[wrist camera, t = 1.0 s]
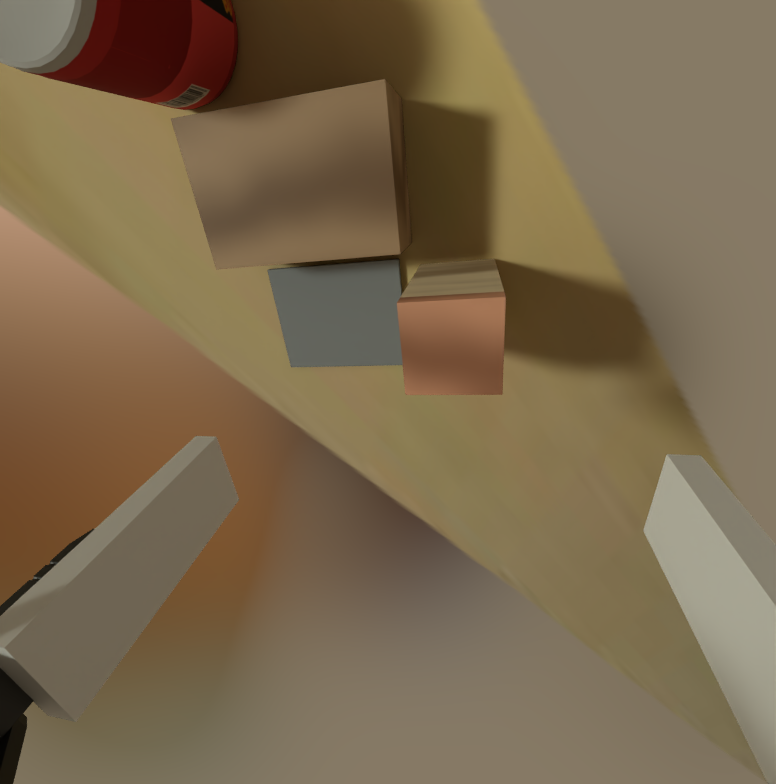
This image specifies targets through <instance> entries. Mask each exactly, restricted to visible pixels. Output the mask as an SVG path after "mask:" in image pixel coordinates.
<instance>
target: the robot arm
mask: <svg viewBox="0 0 776 784" xmlns="http://www.w3.org/2000/svg"><path fill="white" fill-rule="evenodd" d="M238 500H239V499H238V496H237V493H236V490H235V487H234V485H233V482H232V479H231V476H230V473H229V471H228V468H227V465H226V462H225V460H224V457H223V454H222V451H221V448H220V445H219V443H218V440H217V437H208V436H196V437H194V439H192V440H191V441H190V442H189V443H188V444H187V445H186V446H185V447H184V448H183V449H181V450H180V451H179V452H178V453H177V454H176V455H175V456H174V457H173V458H172V459H171V460H169V461H168V462H167V463H166V464H165V465H164V466H163V467H162V468H161V469H160V470H159V471H158V472H156V473H155V474H154V475H153V476H152V477H151V478H150V479H149V480H148V481H147V482H146V483H145V484H143V485H142V486H141V487H140V488H139V489H138V490H137V491H136V492H135V493H134V494H132V495H131V496H130V498H128V499H127V500H126V501H125V502H124V503H123V504H122V505H121V506H120V507H118V508H117V509H116V510H115V511H114V512H113V513H112V514H111V515H110V516H109V517H108V518H106V519H105V520H104V521H103V522H102V523H101V524H100V525H99V526H98V527H97V528H95V529H92V530H91V531H89V532H87V533H86V534H84V535H83V536H81V537H79V538H78V539H76V540H75V541H73V542H72V543H70V544H69V545H68V546H67V547H66V548H65V549H63V550H62V551H61V552H60V553H59V554H58V555H57V556H56V557H54V558H53V559H52V560H51V561H50V564H49V565H46V566H44V567H43V568H42V569H41V570H40V571H39V572H38V573H37V574H36V575H34V578H33V580H29V581H28V582H27V583H26V584H25V585H23V586H22V587H21V588H20V589H19V590H18V591H17V592H15V593H14V594H13V595H12V596H11V597H10V598H9V599H8V600H7V601H5V602H4V603H3V604H2V605H1V606H0V784H13V782H14V778H15V774H16V770H17V765H18V761H19V757H20V753H21V749H22V745H23V741H24V737H25V733H26V729H27V717H26V716H25V715H24V714H23V713H24V711H25V710H26V709H27V708H28V707H29V705H30V704H31V703H32V702H35V703H36V704H37V705H38V707H40V708H41V709H42V710H43V711H44V712H45V713H46V714H47V715H48V716H53V717H57V718H61V719H66V720H70V721H74V722H76V721H77V720H78V718H79V717H80V716H81V714H82V713H83V712H84V710H85V709H86V708H87V706H88V705H89V703H90V702H91V701H92V699H93V698H94V697H95V695H96V694H97V692H98V691H99V690H100V688H101V687H102V686H103V684H104V683H105V681H106V680H107V679H108V678H109V676H110V675H111V673H112V672H113V671H114V669H115V668H116V667H117V665H118V664H119V663H120V661H121V660H122V658H123V657H124V656H125V654H126V653H127V652H128V650H129V649H130V648H131V646H132V645H133V643H134V642H135V641H136V639H137V638H138V637H139V635H140V634H141V633H142V631H143V630H144V629H145V627H146V626H147V624H148V623H149V622H150V620H151V619H152V617H153V616H154V615H155V614H156V612H157V611H158V609H159V608H160V607H161V605H162V604H163V602H164V601H165V600H166V599H167V597H168V596H169V594H170V593H171V592H172V590H173V589H174V588H175V586H176V585H177V584H178V582H179V581H180V579H181V578H182V577H183V575H184V574H185V573H186V571H187V570H188V569H189V567H190V566H191V564H192V563H193V562H194V560H195V559H196V558H197V556H198V555H199V553H200V552H201V551H202V549H203V548H204V547H205V545H206V544H207V543H208V541H209V540H210V539H211V537H212V536H213V534H214V533H215V532H216V530H217V529H218V527H219V526H220V525H221V524H222V522H223V521H224V520H225V518H226V517H227V515H228V514H229V513H230V511H231V510H232V508H233V507H234V506H235V505H236V503H237V502H238ZM644 533H645V535H646V537H647V539H648V541H649V543H650V545H651V547H652V549H653V551H654V553H655V555H656V557H657V559H658V561H659V563H660V565H661V567H662V569H663V571H664V574H665V576H666V578H667V580H668V582H669V584H670V586H671V588H672V590H673V592H674V594H675V596H676V598H677V600H678V602H679V604H680V606H681V608H682V610H683V612H684V614H685V616H686V618H687V620H688V622H689V624H690V626H691V628H692V630H693V632H694V634H695V636H696V638H697V641H698V643H699V645H700V647H701V649H702V651H703V653H704V655H705V657H706V659H707V661H708V663H709V665H710V667H711V669H712V671H713V673H714V675H715V677H716V679H717V681H718V683H719V685H720V687H721V689H722V691H723V693H724V695H725V697H726V699H727V701H728V703H729V705H730V708H731V710H732V712H733V714H734V716H735V718H736V720H737V722H738V724H739V726H740V728H741V730H742V732H743V734H744V736H745V738H746V740H747V742H748V744H749V746H750V748H751V750H752V752H753V754H754V756H755V758H756V760H757V762H758V764H759V766H760V768H761V770H762V773H763V775H764V777H765V779H766V781H767V783H768V784H776V544H775V543H774V542H773V541H772V540H771V539H770V537H769V536H768V535H767V534H766V533H765V531H764V530H763V529H762V528H761V527H760V525H759V524H758V523H757V522H756V521H755V519H754V518H753V517H752V516H751V515H750V513H749V512H748V511H747V510H746V509H745V507H744V506H743V505H742V504H741V503H740V502H739V500H738V499H737V498H736V497H735V496H734V494H733V493H732V492H731V491H730V490H729V488H728V487H727V486H726V485H725V484H724V482H723V481H722V480H721V479H720V478H719V476H718V475H717V474H716V473H715V472H714V471H713V469H712V468H711V467H710V466H709V465H708V463H707V462H706V461H705V460H704V459H703V457H702V456H697V455H672V454H667V455H666V459H665V462H664V465H663V469H662V472H661V475H660V478H659V482H658V485H657V488H656V491H655V495H654V498H653V501H652V504H651V508H650V511H649V514H648V517H647V521H646V524H645V527H644Z"/></svg>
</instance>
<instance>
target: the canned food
mask: <svg viewBox="0 0 776 784" xmlns="http://www.w3.org/2000/svg"><path fill="white" fill-rule="evenodd" d="M237 50H238V31H237V24H236V18H235V13H234V10H233V6H232V3H231V0H0V62H1V63H3V64H6V65H8V66H11V67H14V68H16V69H19V70H21V71H24V72H28V73H32V74H36V75H40V76H43V77H46V78H50V79H54V80H58V81H62V82H67V83H71V84H75V85H79V86H83V87H88V88H92V89H96V90H100V91H104V92H108V93H113V94H117V95H121V96H125V97H129V98H133V99H138V100H142V101H146V102H150V103H154V104H159V105H163V106H167V107H171V108H176V109H183V110H186V109H195V108H198V107H201V106H203V105H206V104H208V103H210V102H212V101H213V100H214V99H216V98H217V97H218V96H219V95H220V94H221V93H222V92H223V90H224V89H225V88H226V86H227V84H228V83H229V81H230V79H231V77H232V74H233V70H234V67H235V64H236V58H237Z"/></svg>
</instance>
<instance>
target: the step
mask: <svg viewBox="0 0 776 784" xmlns="http://www.w3.org/2000/svg"><path fill="white" fill-rule="evenodd" d="M171 121H172V124H173V128H174V131H175V134H176V138H177V141H178V144H179V147H180V151H181V154H182V157H183V161H184V164H185V167H186V171H187V174H188V177H189V180H190V184H191V187H192V190H193V194H194V197H195V200H196V204H197V207H198V210H199V213H200V217H201V220H202V223H203V227H204V230H205V233H206V237H207V240H208V243H209V246H210V250H211V253H212V256H213V260H214V263H215V266H216V269H228V268H240V267H252V266H264V265H276V264H288V263H300V262H312V261H324V260H336V259H348V258H360V257H372V256H384V255H396V254H401V253H402V252H403V251H404V250H405V249H406V248H407V247H408V246H409V245H410V244H411V243H412V235H411V222H410V208H409V194H408V180H407V166H406V153H405V139H404V125H403V111H402V98H401V97H400V96H399V95H398V94H397V93H396V91H395V90H394V89H393V88H392V87H391V85H390V84H389V83H388V82H387V81H386V79H382V80H377V81H371V82H366V83H360V84H355V85H350V86H344V87H339V88H333V89H328V90H323V91H317V92H312V93H307V94H301V95H296V96H290V97H285V98H280V99H274V100H269V101H263V102H258V103H253V104H247V105H242V106H237V107H231V108H226V109H220V110H215V111H210V112H204V113H199V114H193V115H188V116H183V117H177V118H172V119H171Z"/></svg>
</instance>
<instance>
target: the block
mask: <svg viewBox="0 0 776 784" xmlns="http://www.w3.org/2000/svg"><path fill="white" fill-rule="evenodd" d="M505 307H506V296H505V292H504V289H503V286H502V282H501V279H500V275H499V272H498V269H497V265H496V262H495V259H483V260H470V261H457V262H444V263H431V264H421V265H420V266H419V268H418V270H417V271H416V273H415V274H414V276H413V278H412V279H411V281H410V282H409V284H408V286H407V287H406V289H405V290H404V292H403V294H402V295H401V297H400V299H399V300H398V302H397V311H398V321H399V331H400V342H401V352H402V362H403V373H404V383H405V394H406V395H502V390H503V362H504V334H505Z"/></svg>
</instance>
